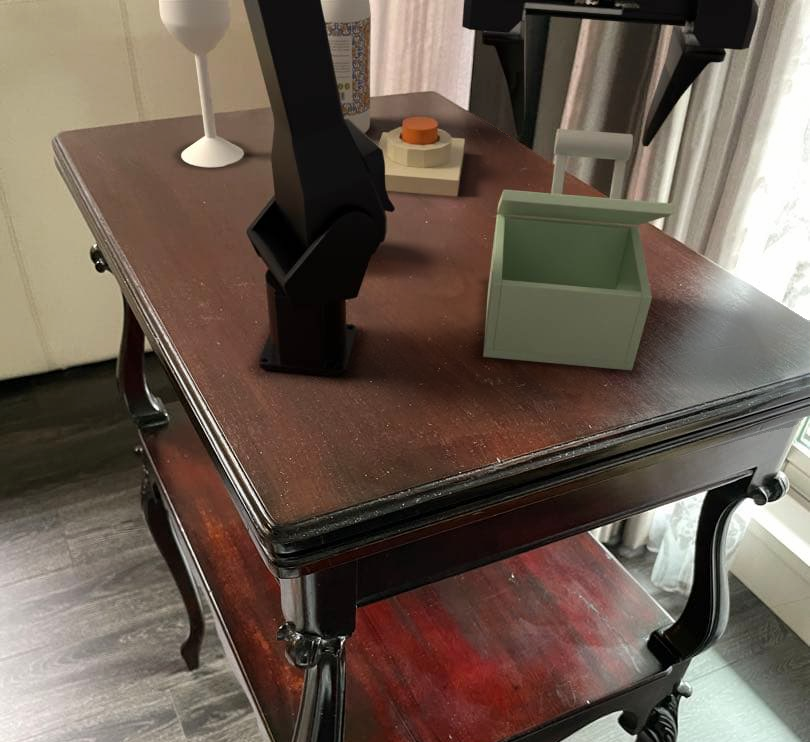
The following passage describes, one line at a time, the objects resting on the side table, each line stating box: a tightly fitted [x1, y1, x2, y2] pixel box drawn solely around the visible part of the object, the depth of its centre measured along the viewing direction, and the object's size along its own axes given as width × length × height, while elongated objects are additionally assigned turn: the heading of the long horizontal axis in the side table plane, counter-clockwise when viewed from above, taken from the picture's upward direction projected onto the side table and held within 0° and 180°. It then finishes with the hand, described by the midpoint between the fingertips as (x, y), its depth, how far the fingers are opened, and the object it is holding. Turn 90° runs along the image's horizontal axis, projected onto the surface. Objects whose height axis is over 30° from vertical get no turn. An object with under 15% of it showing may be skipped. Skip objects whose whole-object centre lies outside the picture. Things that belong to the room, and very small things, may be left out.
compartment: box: [482, 213, 653, 371], centre depth 66 cm, size 11×11×6 cm
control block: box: [377, 126, 466, 197], centre depth 87 cm, size 11×9×4 cm
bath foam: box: [321, 0, 372, 134], centre depth 89 cm, size 7×7×20 cm
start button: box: [401, 116, 439, 145], centre depth 86 cm, size 4×4×2 cm
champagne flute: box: [158, 0, 245, 168], centre depth 81 cm, size 7×7×24 cm
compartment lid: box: [496, 128, 676, 226], centre depth 61 cm, size 12×11×5 cm
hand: (582, 139), depth 62 cm, fingers open, 9 cm apart
